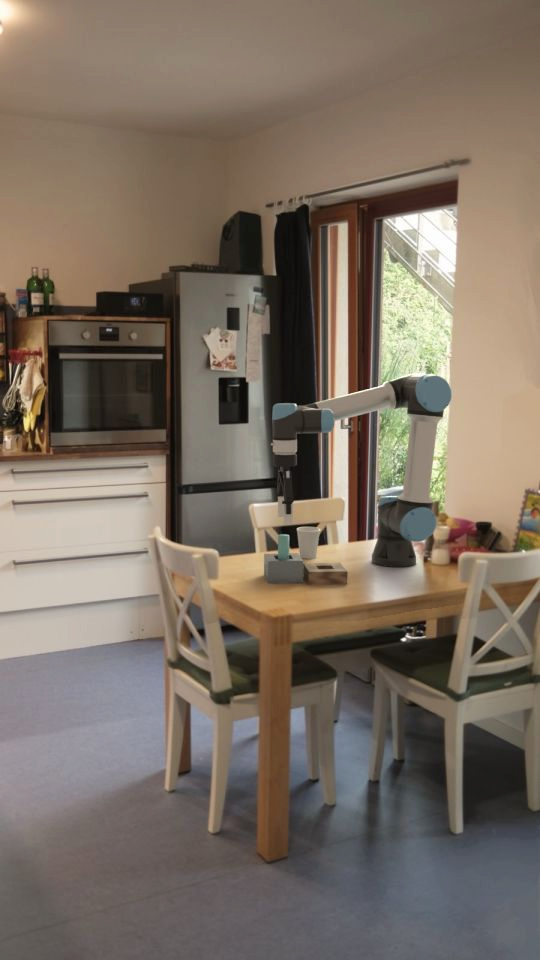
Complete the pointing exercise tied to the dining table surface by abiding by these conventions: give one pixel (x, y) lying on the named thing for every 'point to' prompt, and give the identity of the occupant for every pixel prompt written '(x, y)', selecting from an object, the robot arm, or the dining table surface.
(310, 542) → the dixie cup
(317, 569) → the mount
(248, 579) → the dining table surface
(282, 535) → the pin
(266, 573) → the socket
